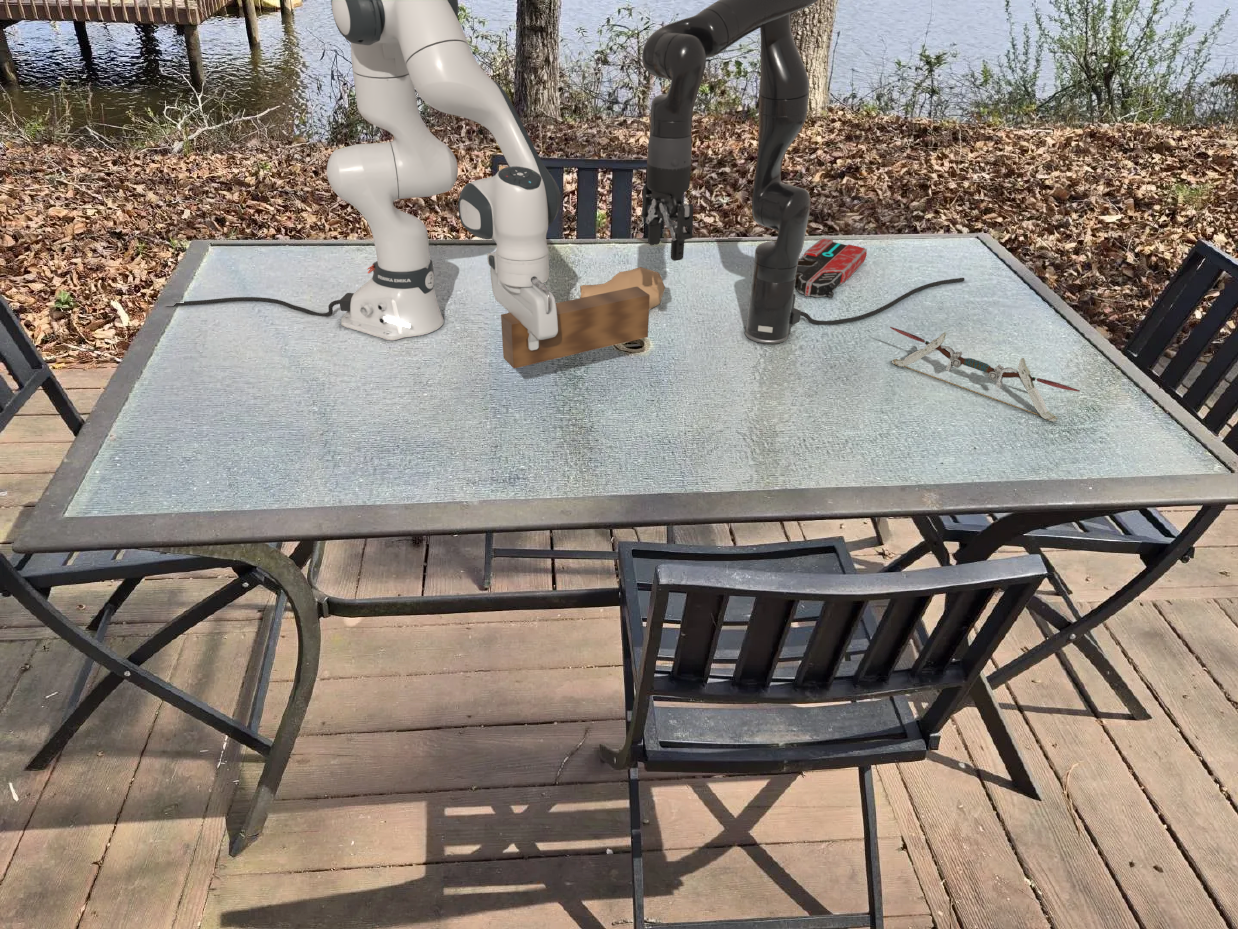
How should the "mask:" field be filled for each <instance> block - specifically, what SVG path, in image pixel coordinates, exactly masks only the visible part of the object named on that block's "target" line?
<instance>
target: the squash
mask: <svg viewBox="0 0 1238 929" xmlns="http://www.w3.org/2000/svg"><path fill="white" fill-rule="evenodd" d="M632 287H639V288H640V289H642V290H643V291H644V292H646V293H647V294H649V295H650V300H649V310H652V309H653V308H655V307H657V306H660V304H661V302H662V299H663V296H664V293H665V290H666V287H665V284H664V281H663V279H662V275H661V274H660V272H658V271H655V270H653V269H649V268H646V267H641V266H639V267H636V268H633V269H629V270H624V271H619V272H618V273H616V274H615V275H614V276H612V277H611V279H609V280H608V281H606V282H604V283H598V284H582V285H580V288H579V291H580V297H579V298H584V297H588V296H593V295H598V294H603V293H608V292H613V291H617V290H622V289H627V288H632Z"/></svg>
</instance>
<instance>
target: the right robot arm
mask: <svg viewBox="0 0 1238 929" xmlns="http://www.w3.org/2000/svg"><path fill="white" fill-rule="evenodd" d="M818 1H819V0H717V1H715V2H714V3H713V2H712V4H710V5H709V6H707V7H705V8H704V9H702V10H701V11H699V12H698V13H697V14H695V15H692V16H689V17H687V18H683V19H680V20H678V21H675V22H672V23H669V24H666V25H664V26H662V27H660V28H658V29H656V30H655V31H654V32H653V33H651V34H650V36H649V37H648V38H647V39H646V41H645V43H644V45H643V48H642V53H641V62H642V64H643V67H644V68H645V70H646V72H647V73H649V74H650V75H651V76H654V77H655V78H659V79H664V80H669V81H671V83H670V87H669V90H668V93H662V94H659V95H656V96H655V97H653V99H652V100H651V104H650V113H649V114H650V115H649V116H650V117H649V118H650V119H649V137H648V143H647V157H646V158H647V159H646V162H647V163H646V185H643V187H642V201H641V202H642V203H641V217H642V218H643V219H645V221H646V224H647V225H648V228H647V229H648V231H647V232H648V233H647V244H648V245H650V246H656V245H660V243H661V230H662V224H661V222H662V221H663V222H664V225H665V227H666V229H667V230H669V233H670V236H671V242H670V259H671V260H672V262H673V261H674V262H676V261H681V260H683V259H684V255H685V254H684V252H685V241H687V240H691V239H693V233H694V230H693V229H694V205H693V204H692V203H687V204H685V202H684V194H685V193H686V192H687V191H688V190H689V189H690V187H691V186H690V185H691V170H692V156H693V155H692V153H693V143H692V129H693V110H694V107H695V104H696V100H697V97H698V94H699V91H700V88H701V84H702V80H703V77H704V74H705V71H706V66H707V59H708V58H714V57H715V56H717V55H719V54H721V53H722V52H724V51H725V50H727V49H728V48H729V47H731V46H733V45H734V44H736V43H737V42H738V41H740V40H741V39H743V38H744V37H746V36H748V35H750V34H751V33H753V32H755V31H756V30H758V29H759V32H760V74H759V75H760V76H759V77H760V78H759V93H758V134H757V155H756V166H755V171H754V172H755V174H754V180H753V188H752V197H751V214H752V217H753V220H754V222H755V223H756V224H757V225H759V226H762V227H765V228H768V229H771V230H774V231H776V232H777V237H776V240H772V241H765V242H761V243H760V244H758V245H757V246H756V248H755V251H754V258H753V268H752V276H751V284H750V292H749V293H750V294H749V303H748V309H747V310H748V312H747V319H746V320H747V321H746V328H745V336H746V337H747V338H748V339H749V340H751V341H753V342H756V343H759V344H764V345H777V344H781V343H784V342H785V341H787V340H788V338H789V335H791V330H792V326H793V325H795V324H799V323H800V321H801V317H803V318H805V319H806V321H808V322H809V323H810V324H813V325H817V326H832V325H839V324H846V323H852V322H857V321H861V320H864V319H867V318H870V317H872V316H875V315H878V314H880V313H883V312H884V311H886V310H888V309H889V308H892V307H893V306H895V305H896V304H898V303H900V302H902V301H903V300H905V299H906V298H907V299H908V297H910V296H912V295H914V294H916V293H918V292H921V291H923V290H927V289H929V288H933V287H937V286H942V285H946V284H947V285H948V284H953V283H961V282H962V283H963V282H965V279H966V278H965V277H956V278H950V279H942V280H938V281H933V282H930V283H926V284H924V285H921V286H917V287H916V288H913V289H911V290H909V291H908V292H906V293H904V294H902V295H900V296H898V297H897V298H895V299H894V300H892V301H890V302H889V303H886V304H885V305H883V306H881V307H879V308H877V309H874V310H871V311H869V312H866V313H863V314H861V315H857V316H852V317H847V318H840V319H833V320H818V319H814V318H812V317H811V315H809V313H807V312H805V311H802V310H801V309H798V308H796V307H795V304H796V293H795V287H796V285H795V282H796V274H797V267H798V260H799V259H800V256H801V253H802V250H803V247H804V244H805V238H806V232H807V229H808V223H809V219H810V213H811V204H812V203H811V195H810V193H809V191H808V190H806V189H805V188H802V187H799V186H795V185H792V184H788V183H784V182H782V167H783V160H784V157H785V155H786V154H787V151H788V150H789V147H791V145H792V144H793V142H794V141H795V139H796V138H797V137H798V135H799V134H800V132H801V130H802V129H803V127H804V126H805V123H806V120H807V118H808V117H807V116H808V110H809V94H810V93H809V92H810V81H809V76H808V73H807V70H806V66H805V63H804V62H803V59H802V57H801V55H800V52H799V50H798V48H797V45H796V42H795V40H794V37H793V33H792V28H791V14H792V13H796V12H798V11H802V10H803V9H804V10H805V9H806V8H809V7H810V6H812V5H814V4H815V3H816V2H818ZM649 206H650V207H649ZM648 207H649V208H648Z"/></svg>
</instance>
